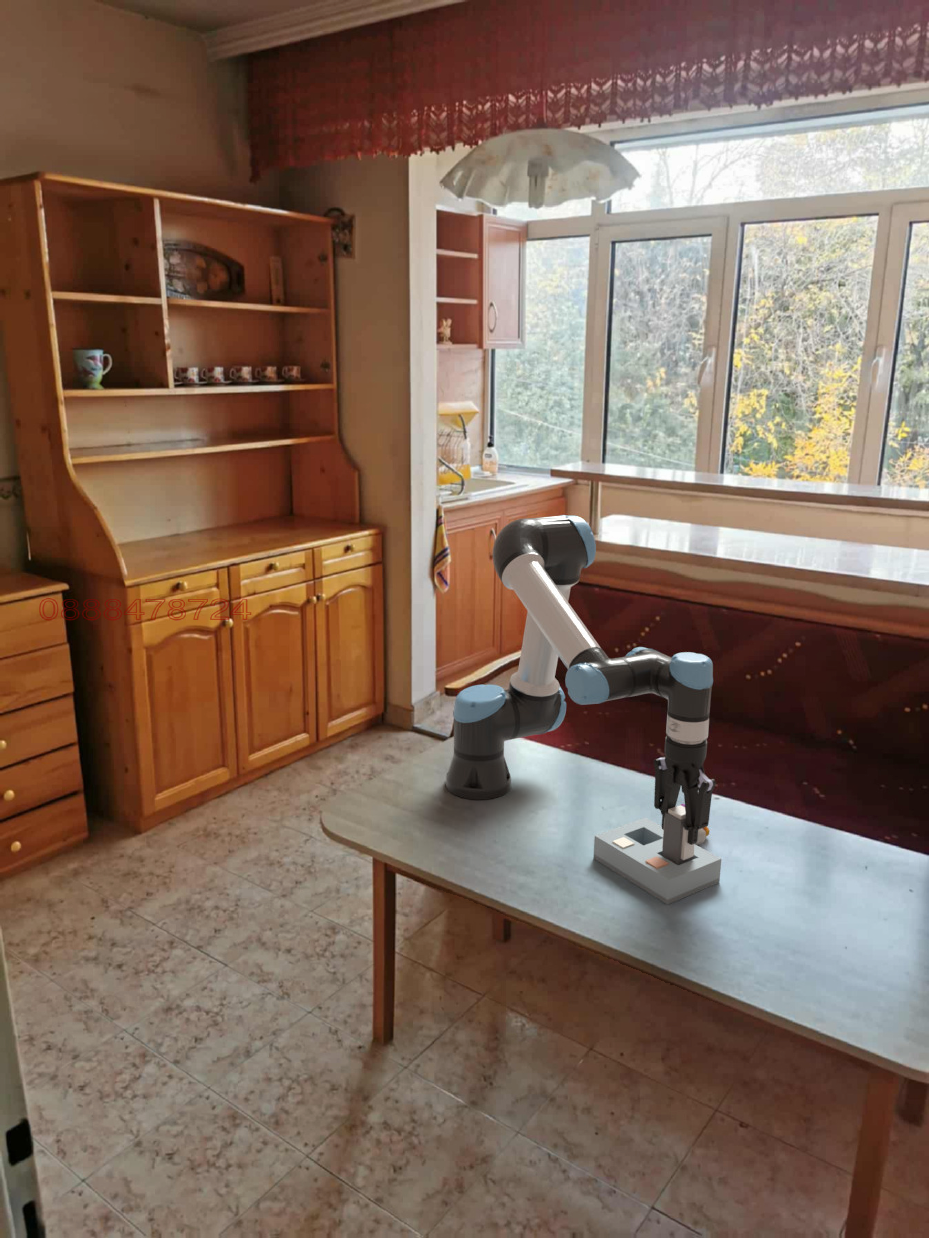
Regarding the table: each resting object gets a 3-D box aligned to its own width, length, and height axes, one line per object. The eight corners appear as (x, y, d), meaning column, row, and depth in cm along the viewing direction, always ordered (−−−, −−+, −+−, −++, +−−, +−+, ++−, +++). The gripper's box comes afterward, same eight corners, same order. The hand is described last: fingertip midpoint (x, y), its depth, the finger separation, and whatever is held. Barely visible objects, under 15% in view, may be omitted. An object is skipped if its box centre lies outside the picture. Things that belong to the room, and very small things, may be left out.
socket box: (593, 858, 186) (594, 834, 184) (644, 839, 193) (645, 816, 192) (667, 904, 170) (669, 878, 168) (719, 882, 177) (721, 857, 176)
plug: (661, 860, 178) (665, 808, 175) (676, 854, 180) (680, 803, 178) (677, 869, 175) (681, 817, 172) (692, 863, 177) (696, 811, 174)
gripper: (638, 726, 176) (631, 839, 182) (708, 757, 162) (698, 877, 168) (666, 719, 180) (659, 829, 186) (737, 747, 166) (726, 865, 172)
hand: (677, 851), depth 177 cm, fingers closed on plug, 4 cm apart
